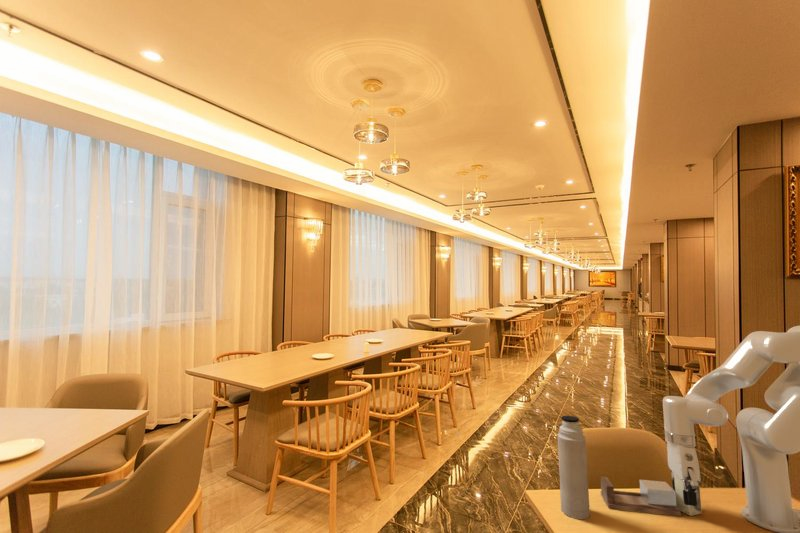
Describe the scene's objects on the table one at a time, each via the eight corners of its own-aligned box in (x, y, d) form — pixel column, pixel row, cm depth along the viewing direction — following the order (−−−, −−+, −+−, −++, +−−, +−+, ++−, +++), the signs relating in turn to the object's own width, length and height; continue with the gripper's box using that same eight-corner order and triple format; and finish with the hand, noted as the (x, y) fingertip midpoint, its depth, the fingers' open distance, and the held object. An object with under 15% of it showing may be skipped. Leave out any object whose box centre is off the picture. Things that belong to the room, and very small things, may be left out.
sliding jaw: (666, 498, 118) (665, 481, 119) (676, 509, 112) (675, 491, 112) (640, 495, 120) (639, 479, 120) (648, 506, 114) (647, 488, 114)
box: (691, 516, 110) (687, 471, 112) (675, 509, 114) (672, 465, 116) (702, 513, 112) (698, 468, 114) (687, 506, 116) (683, 463, 118)
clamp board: (667, 502, 119) (666, 481, 119) (680, 516, 111) (678, 494, 111) (600, 495, 123) (599, 475, 124) (608, 508, 115) (607, 487, 116)
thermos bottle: (585, 506, 117) (580, 414, 120) (593, 520, 109) (587, 421, 112) (558, 503, 118) (554, 412, 121) (564, 517, 110) (559, 420, 113)
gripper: (709, 449, 107) (715, 516, 105) (679, 429, 123) (684, 487, 121) (679, 447, 108) (684, 512, 106) (654, 428, 125) (658, 484, 123)
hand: (684, 498), depth 114 cm, fingers closed on box, 6 cm apart
